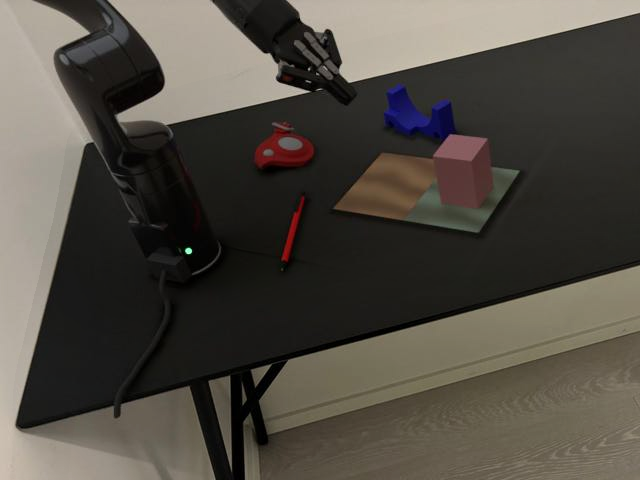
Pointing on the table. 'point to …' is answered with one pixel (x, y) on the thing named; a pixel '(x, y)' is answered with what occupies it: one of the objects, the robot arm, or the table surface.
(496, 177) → the multicoloured piece
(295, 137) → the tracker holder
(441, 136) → the blue curved block
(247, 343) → the table surface
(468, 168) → the pink block
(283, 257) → the pen
